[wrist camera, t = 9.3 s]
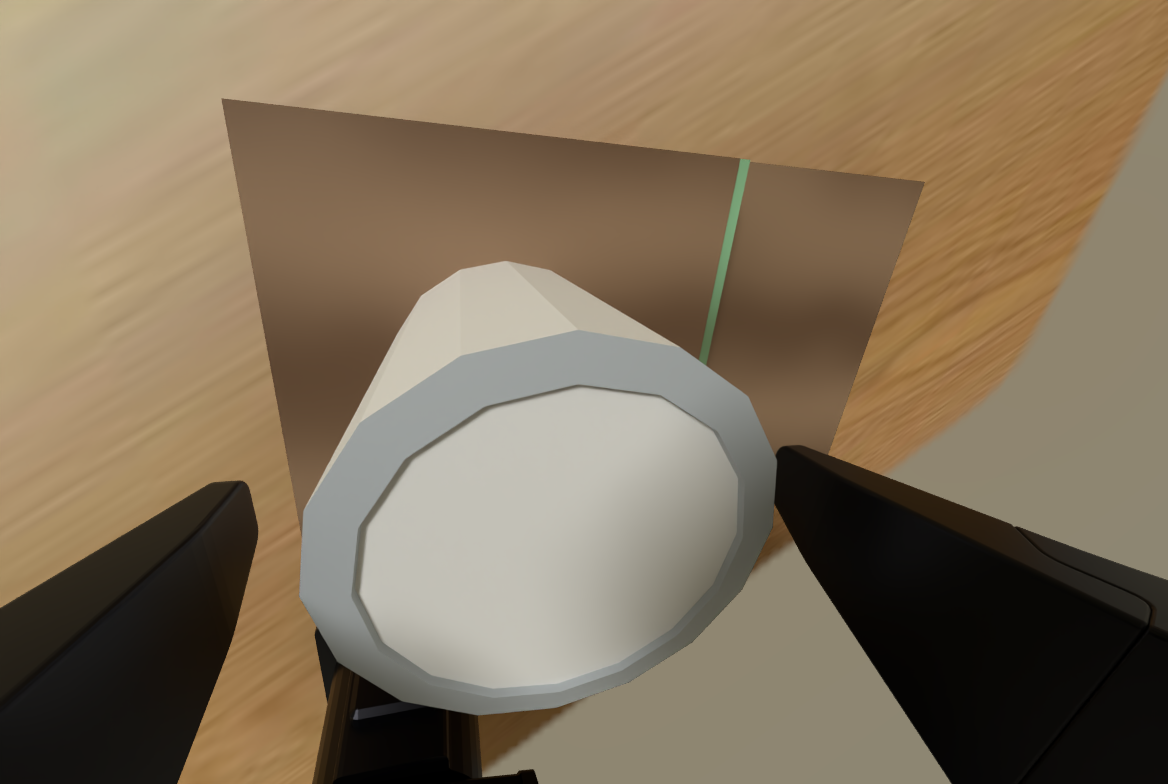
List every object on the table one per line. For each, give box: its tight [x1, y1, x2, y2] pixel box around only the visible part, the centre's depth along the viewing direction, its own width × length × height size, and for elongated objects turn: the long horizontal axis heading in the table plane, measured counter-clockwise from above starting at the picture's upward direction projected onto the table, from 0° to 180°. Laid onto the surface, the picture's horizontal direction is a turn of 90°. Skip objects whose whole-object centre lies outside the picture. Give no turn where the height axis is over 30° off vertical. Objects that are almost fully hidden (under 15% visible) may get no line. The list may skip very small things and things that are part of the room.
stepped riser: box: [222, 99, 925, 535], centre depth 16 cm, size 11×19×4 cm, turn 84°
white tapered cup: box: [299, 261, 777, 715], centre depth 10 cm, size 7×7×7 cm
